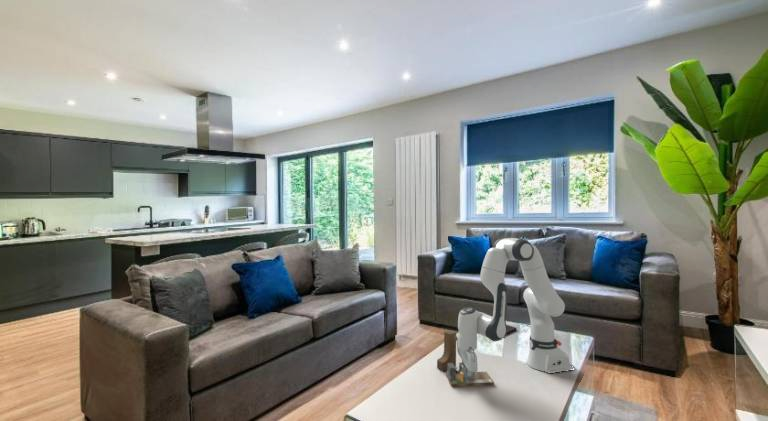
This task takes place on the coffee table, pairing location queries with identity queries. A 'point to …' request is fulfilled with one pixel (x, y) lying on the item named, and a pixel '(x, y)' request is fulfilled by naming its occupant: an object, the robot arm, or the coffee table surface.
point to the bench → (454, 380)
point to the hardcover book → (510, 329)
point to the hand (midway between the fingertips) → (466, 372)
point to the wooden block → (448, 351)
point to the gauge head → (465, 372)
